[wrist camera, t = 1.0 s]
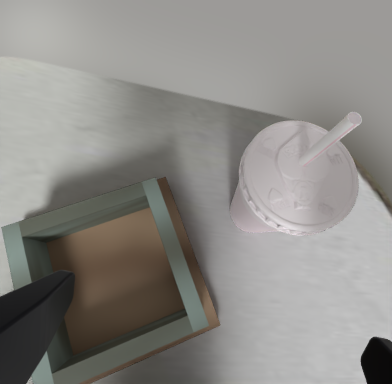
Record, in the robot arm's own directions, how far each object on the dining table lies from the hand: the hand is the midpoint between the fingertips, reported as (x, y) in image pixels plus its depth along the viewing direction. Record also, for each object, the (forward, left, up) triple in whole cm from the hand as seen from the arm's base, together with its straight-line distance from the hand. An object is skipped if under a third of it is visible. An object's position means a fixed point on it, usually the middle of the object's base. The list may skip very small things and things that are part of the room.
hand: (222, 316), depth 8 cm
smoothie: (+4, -7, -14) cm, 16 cm away
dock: (+3, +5, -14) cm, 15 cm away
